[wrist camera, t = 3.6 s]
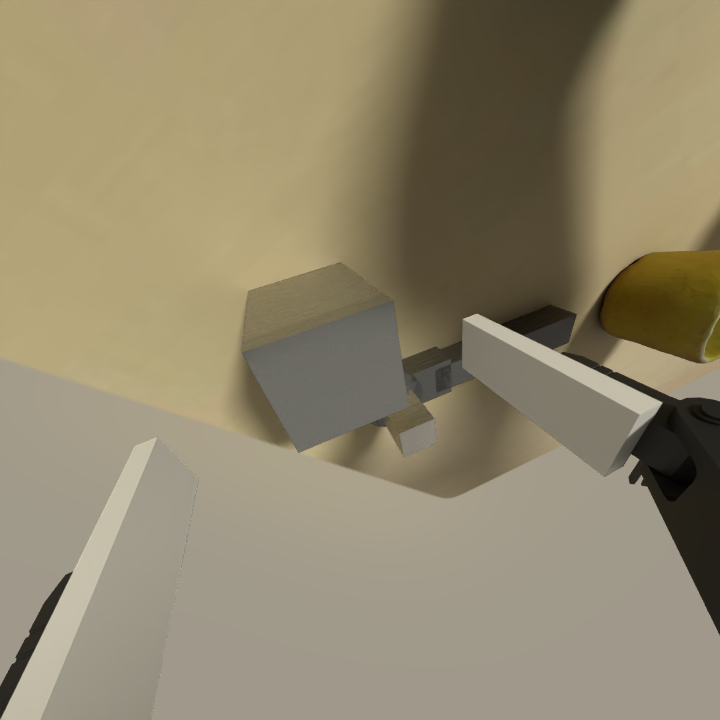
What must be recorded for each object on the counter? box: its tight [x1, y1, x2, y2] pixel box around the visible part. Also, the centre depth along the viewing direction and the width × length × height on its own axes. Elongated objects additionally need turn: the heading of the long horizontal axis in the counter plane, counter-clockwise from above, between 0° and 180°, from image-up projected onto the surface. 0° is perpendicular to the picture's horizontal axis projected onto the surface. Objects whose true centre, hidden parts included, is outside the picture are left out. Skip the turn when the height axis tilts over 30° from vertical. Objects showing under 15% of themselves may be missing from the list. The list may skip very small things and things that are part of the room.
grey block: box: [241, 263, 409, 453], centre depth 15 cm, size 6×6×8 cm
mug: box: [600, 249, 720, 363], centre depth 25 cm, size 12×10×10 cm
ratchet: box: [371, 305, 577, 457], centre depth 22 cm, size 21×5×6 cm, turn 103°
